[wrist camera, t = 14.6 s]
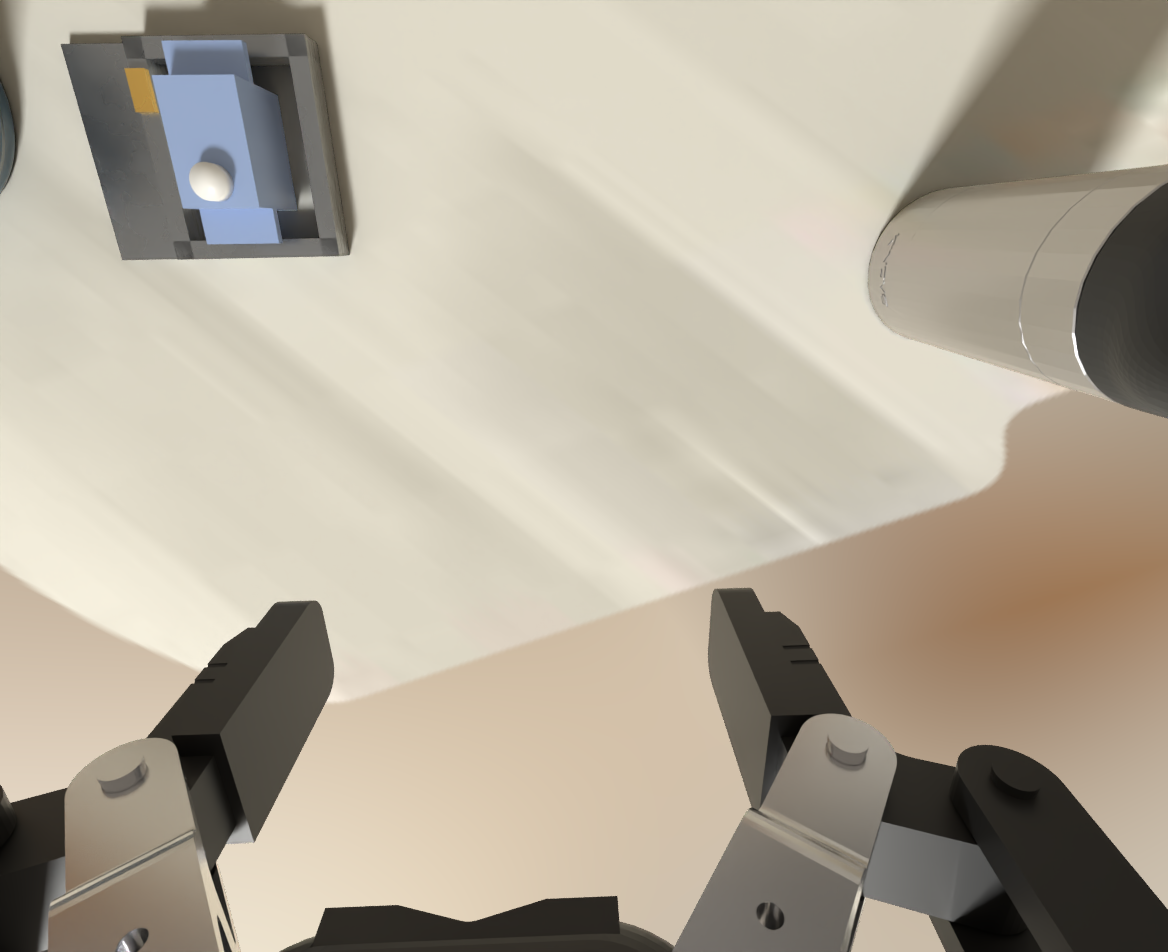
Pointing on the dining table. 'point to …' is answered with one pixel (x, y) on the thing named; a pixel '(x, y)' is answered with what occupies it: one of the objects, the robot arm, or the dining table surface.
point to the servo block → (225, 141)
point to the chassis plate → (142, 158)
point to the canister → (6, 139)
